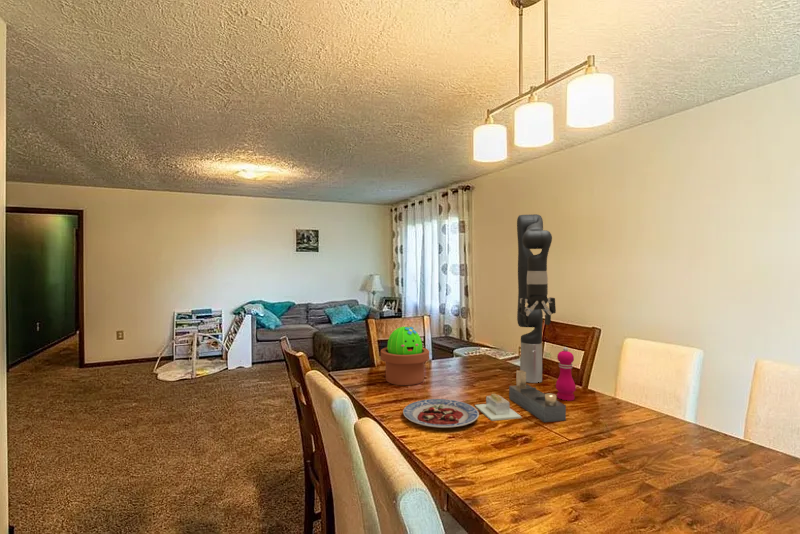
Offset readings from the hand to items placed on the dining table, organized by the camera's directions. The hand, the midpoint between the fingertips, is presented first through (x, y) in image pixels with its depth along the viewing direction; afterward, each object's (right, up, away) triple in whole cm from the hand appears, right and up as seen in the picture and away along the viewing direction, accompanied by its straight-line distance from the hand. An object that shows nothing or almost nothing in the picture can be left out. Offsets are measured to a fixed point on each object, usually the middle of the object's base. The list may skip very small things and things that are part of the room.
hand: (537, 325), depth 151 cm
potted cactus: (-50, -30, +29) cm, 65 cm away
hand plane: (-3, -29, -8) cm, 30 cm away
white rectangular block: (-18, -29, -11) cm, 35 cm away
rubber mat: (-18, -29, -11) cm, 36 cm away
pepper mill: (+12, -29, +4) cm, 32 cm away
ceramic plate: (-39, -30, -15) cm, 51 cm away
